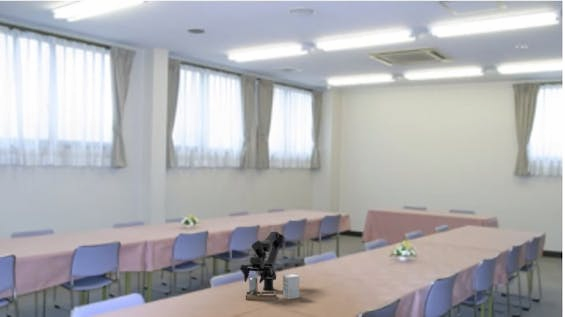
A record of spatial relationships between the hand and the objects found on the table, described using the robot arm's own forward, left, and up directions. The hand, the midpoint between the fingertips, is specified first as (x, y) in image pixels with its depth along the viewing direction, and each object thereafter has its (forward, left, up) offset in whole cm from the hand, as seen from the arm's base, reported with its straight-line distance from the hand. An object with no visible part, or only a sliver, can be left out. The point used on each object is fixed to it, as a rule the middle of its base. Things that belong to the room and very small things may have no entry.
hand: (252, 282), depth 293 cm
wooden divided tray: (-1, +5, -9) cm, 10 cm away
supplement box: (-1, +22, -9) cm, 24 cm away
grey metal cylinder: (-1, +1, -8) cm, 8 cm away
